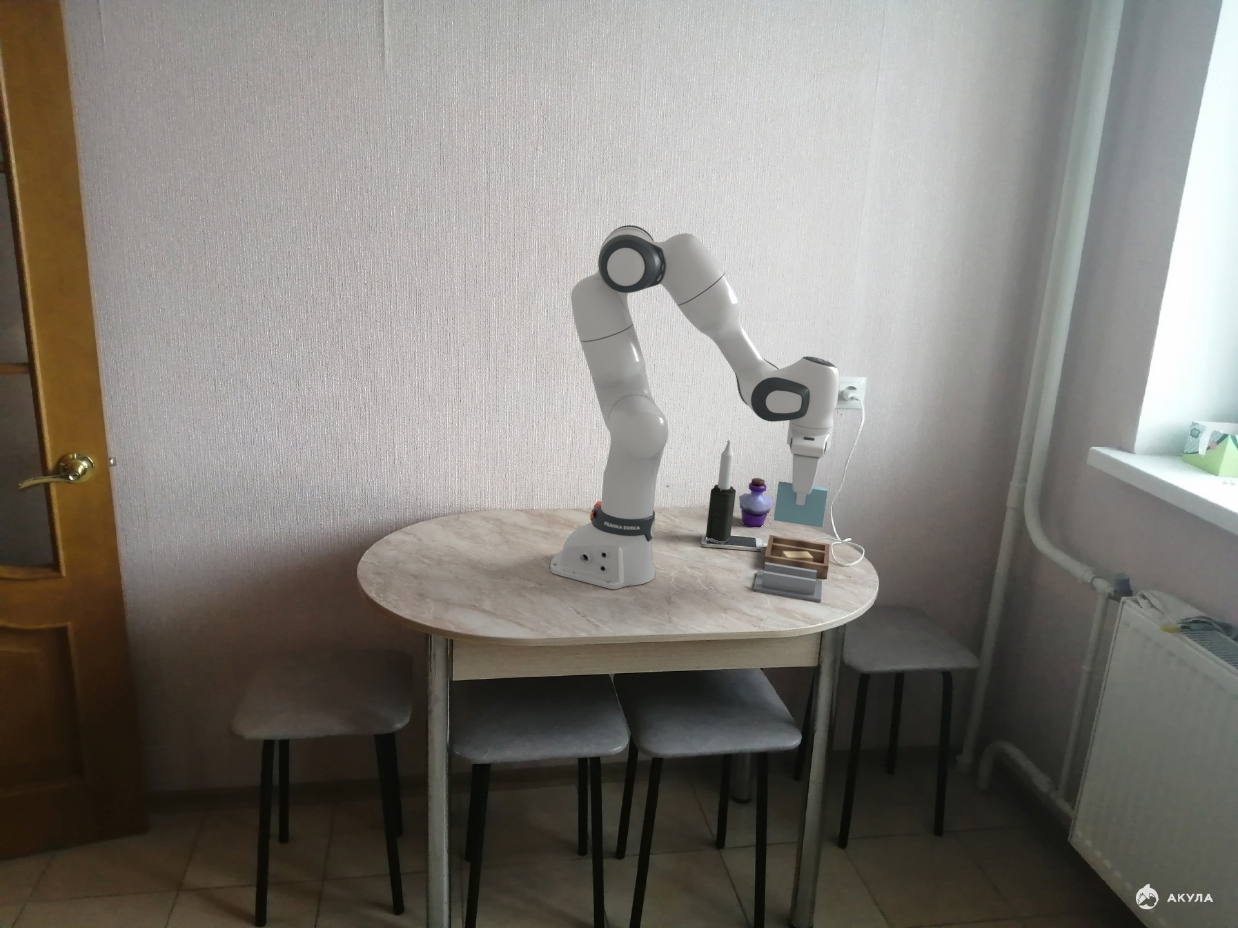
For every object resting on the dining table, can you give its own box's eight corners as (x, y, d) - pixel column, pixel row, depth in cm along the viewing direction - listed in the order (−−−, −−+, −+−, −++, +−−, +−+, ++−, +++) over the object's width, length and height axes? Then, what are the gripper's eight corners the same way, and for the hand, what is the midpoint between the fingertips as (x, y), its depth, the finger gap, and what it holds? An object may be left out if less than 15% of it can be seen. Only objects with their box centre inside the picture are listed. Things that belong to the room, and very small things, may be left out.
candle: (731, 539, 214) (743, 440, 207) (723, 545, 210) (735, 444, 202) (711, 534, 216) (723, 435, 209) (703, 540, 212) (715, 440, 205)
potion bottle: (770, 521, 229) (776, 477, 225) (768, 532, 221) (774, 486, 217) (737, 516, 230) (743, 472, 227) (734, 527, 222) (739, 481, 219)
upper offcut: (786, 564, 198) (787, 557, 197) (781, 558, 201) (782, 551, 201) (812, 564, 199) (813, 557, 198) (806, 558, 202) (807, 551, 202)
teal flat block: (773, 520, 185) (778, 484, 183) (774, 517, 187) (779, 481, 185) (822, 527, 183) (827, 490, 181) (822, 524, 185) (827, 488, 183)
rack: (763, 568, 198) (764, 556, 197) (768, 546, 211) (769, 534, 211) (826, 578, 195) (828, 566, 195) (827, 555, 208) (829, 544, 208)
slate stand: (753, 590, 186) (755, 575, 185) (757, 572, 196) (759, 557, 195) (820, 602, 183) (823, 586, 182) (821, 583, 193) (824, 568, 192)
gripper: (796, 423, 190) (788, 484, 194) (791, 447, 171) (782, 514, 175) (826, 427, 189) (817, 489, 193) (824, 451, 170) (814, 519, 174)
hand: (800, 501), depth 184 cm, fingers closed on teal flat block, 2 cm apart
